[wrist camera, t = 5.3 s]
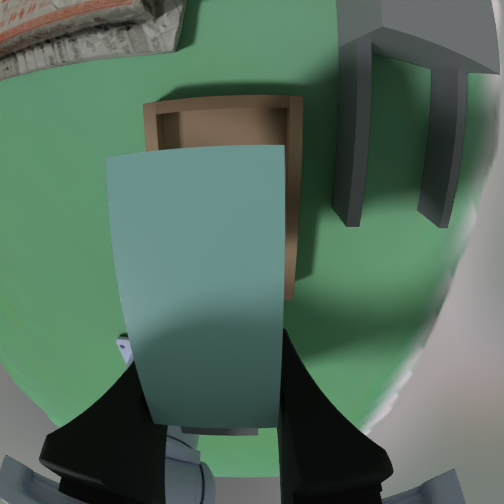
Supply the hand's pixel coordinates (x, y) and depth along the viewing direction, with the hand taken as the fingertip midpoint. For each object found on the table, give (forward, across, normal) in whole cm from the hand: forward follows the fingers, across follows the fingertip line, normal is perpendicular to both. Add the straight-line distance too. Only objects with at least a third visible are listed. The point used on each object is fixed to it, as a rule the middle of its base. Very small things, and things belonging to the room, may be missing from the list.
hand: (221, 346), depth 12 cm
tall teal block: (+3, 0, -3) cm, 4 cm away
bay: (+9, -11, -11) cm, 18 cm away
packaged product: (+10, +11, -19) cm, 24 cm away
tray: (+9, 0, -3) cm, 9 cm away
